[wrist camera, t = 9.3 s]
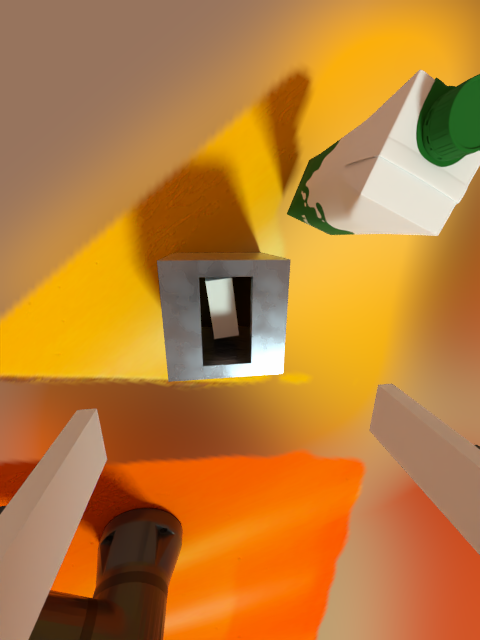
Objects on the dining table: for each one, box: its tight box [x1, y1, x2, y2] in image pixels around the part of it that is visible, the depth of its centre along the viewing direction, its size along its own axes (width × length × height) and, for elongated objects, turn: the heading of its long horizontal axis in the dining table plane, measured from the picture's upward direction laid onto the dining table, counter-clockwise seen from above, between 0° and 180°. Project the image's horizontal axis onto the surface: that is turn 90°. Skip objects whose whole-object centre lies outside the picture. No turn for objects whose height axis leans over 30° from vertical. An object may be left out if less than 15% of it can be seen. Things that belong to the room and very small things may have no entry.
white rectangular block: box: [205, 277, 239, 339], centre depth 33 cm, size 7×3×8 cm, turn 7°
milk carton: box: [287, 70, 480, 236], centre depth 25 cm, size 9×9×20 cm
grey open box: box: [157, 252, 290, 382], centre depth 30 cm, size 12×12×13 cm
